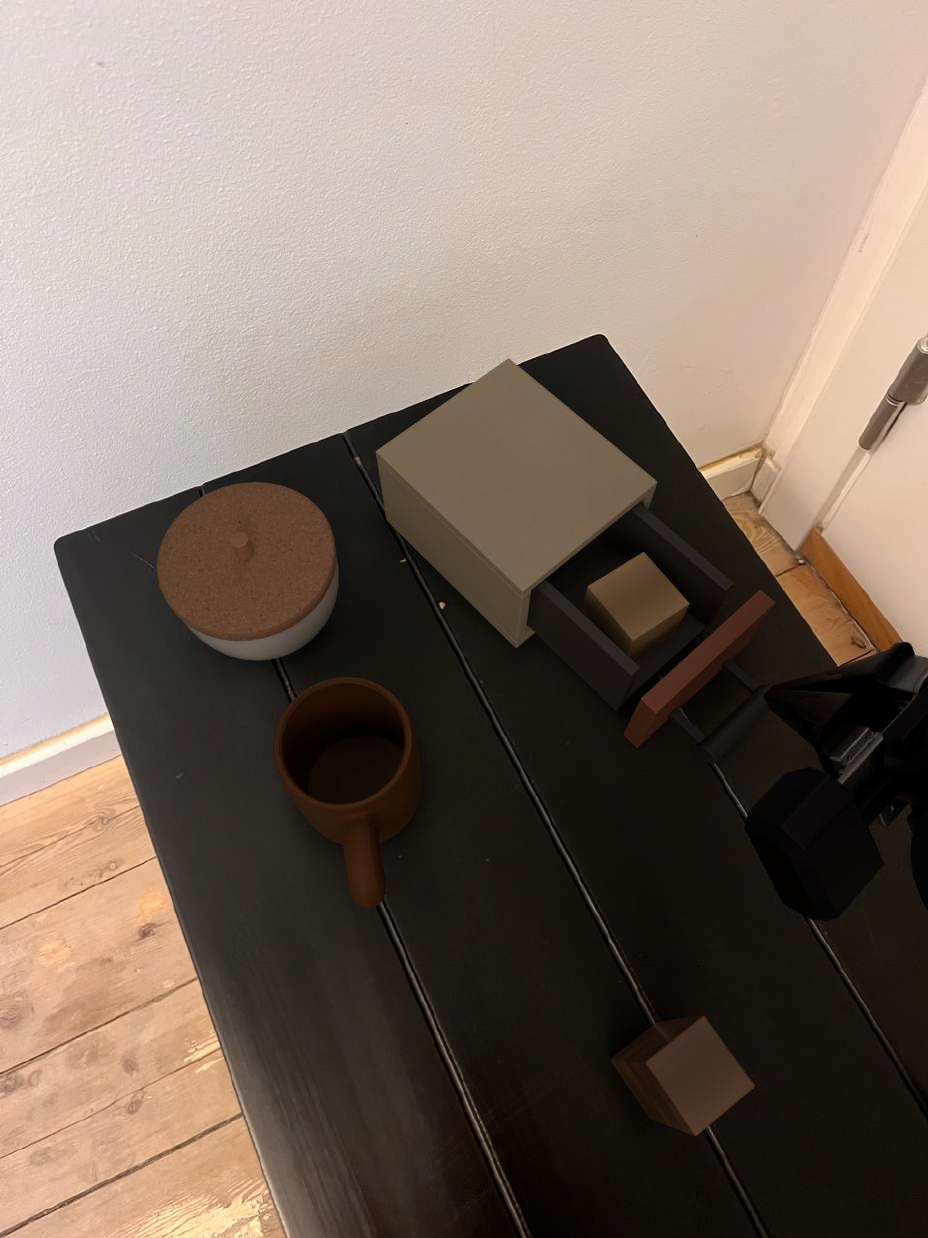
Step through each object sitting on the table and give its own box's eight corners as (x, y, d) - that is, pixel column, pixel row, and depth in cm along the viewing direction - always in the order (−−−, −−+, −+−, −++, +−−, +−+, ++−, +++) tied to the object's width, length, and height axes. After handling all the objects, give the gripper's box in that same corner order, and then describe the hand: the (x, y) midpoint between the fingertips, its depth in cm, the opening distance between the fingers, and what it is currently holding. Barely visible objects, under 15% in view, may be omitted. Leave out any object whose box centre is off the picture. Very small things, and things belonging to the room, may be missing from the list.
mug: (447, 912, 51) (443, 884, 42) (317, 938, 50) (286, 916, 42) (412, 719, 56) (402, 661, 48) (294, 742, 55) (263, 687, 47)
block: (674, 634, 56) (690, 603, 52) (621, 670, 55) (632, 640, 51) (631, 585, 58) (643, 551, 54) (579, 618, 57) (587, 586, 53)
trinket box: (182, 565, 61) (136, 488, 53) (332, 528, 62) (310, 447, 54) (205, 703, 57) (159, 642, 48) (366, 660, 58) (348, 594, 49)
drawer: (792, 687, 56) (829, 647, 50) (683, 794, 53) (709, 764, 47) (608, 525, 61) (622, 472, 56) (499, 614, 58) (502, 567, 53)
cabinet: (635, 548, 62) (658, 481, 54) (516, 648, 58) (522, 591, 51) (504, 433, 66) (508, 357, 59) (386, 520, 63) (375, 451, 55)
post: (698, 1079, 47) (756, 1086, 37) (649, 1119, 46) (695, 1137, 37) (658, 1021, 48) (704, 1014, 39) (609, 1059, 47) (644, 1062, 38)
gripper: (990, 1083, 35) (712, 910, 49) (1217, 777, 41) (909, 698, 54) (915, 904, 31) (631, 768, 44) (1181, 587, 36) (856, 552, 50)
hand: (769, 697), depth 48 cm, fingers closed
